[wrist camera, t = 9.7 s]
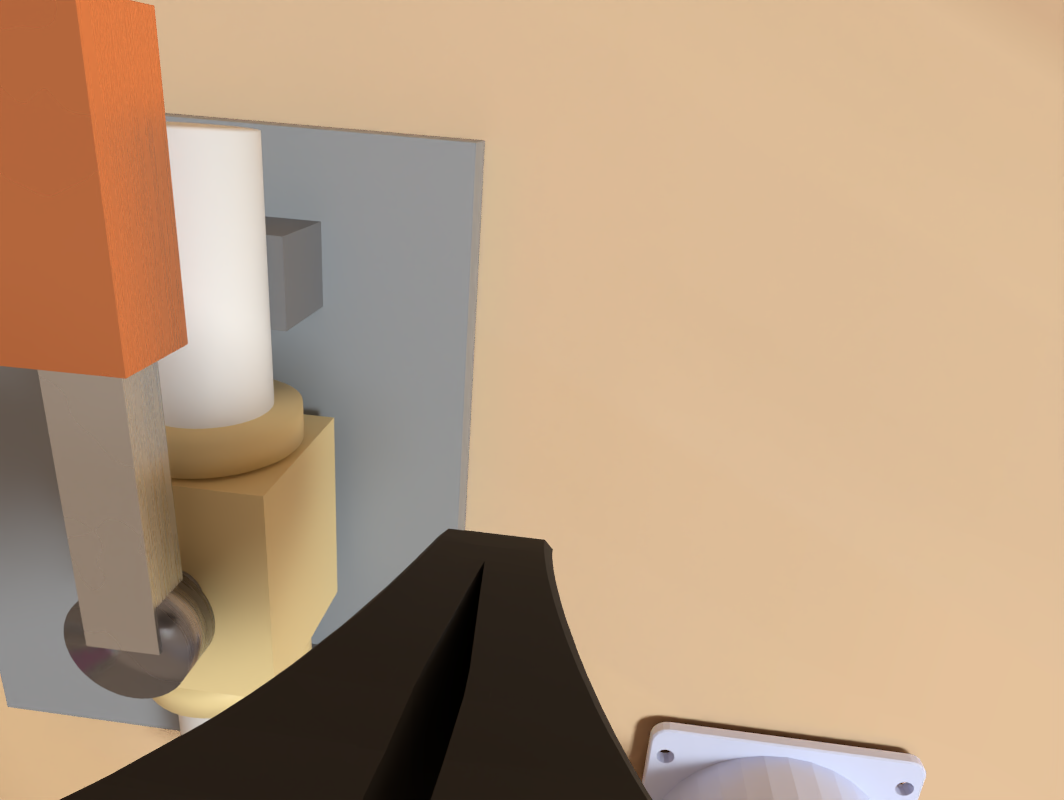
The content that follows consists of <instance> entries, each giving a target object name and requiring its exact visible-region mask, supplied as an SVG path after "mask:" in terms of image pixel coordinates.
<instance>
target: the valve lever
mask: <svg viewBox="0 0 1064 800" xmlns="http://www.w3.org/2000/svg"><path fill="white" fill-rule="evenodd" d="M187 344H188V338H187V328H186V318H185V308H184V298H183V289H182V279H181V269H180V259H179V249H178V239H177V229H176V219H175V209H174V199H173V189H172V179H171V169H170V159H169V149H168V139H167V129H166V119H165V109H164V99H163V89H162V79H161V69H160V59H159V49H158V39H157V29H156V19H155V9H154V6H153V5H149V4H144V3H140V2H135V1H131V0H0V366H6V367H16V368H26V369H36V370H38V375H39V381H40V387H41V392H42V398H43V404H44V409H45V415H46V420H47V426H48V432H49V437H50V443H51V449H52V454H53V460H54V466H55V471H56V477H57V482H58V488H59V494H60V499H61V505H62V511H63V516H64V522H65V528H66V533H67V539H68V544H69V550H70V556H71V561H72V567H73V573H74V578H75V584H76V590H77V595H78V602H76V603H75V604H74V606H73V607H72V608H71V609H70V611H69V612H68V614H67V616H66V619H65V622H64V640H65V644H66V647H67V649H68V652H69V654H70V656H71V658H72V659H73V661H74V662H75V664H76V665H77V666H78V667H79V669H80V670H81V671H82V672H83V673H84V674H85V675H86V676H87V677H88V678H90V679H91V680H92V681H94V682H95V683H96V684H98V685H100V686H101V687H103V688H105V689H107V690H109V691H111V692H113V693H116V694H118V695H122V696H125V697H131V698H139V699H149V698H156V697H160V696H163V695H165V694H168V693H170V692H171V691H173V690H174V689H176V688H177V687H178V686H179V685H180V684H181V682H182V681H183V680H184V678H185V677H186V676H187V674H188V673H189V672H190V670H191V669H192V668H193V666H194V665H195V664H196V662H197V661H198V660H199V658H200V657H201V656H202V654H203V653H204V652H205V650H206V649H207V648H208V646H209V645H210V643H211V641H212V639H213V636H214V633H215V618H214V613H213V610H212V607H211V605H210V603H209V601H208V599H207V597H206V596H205V594H204V593H203V592H202V591H201V589H200V588H199V587H198V586H197V585H196V584H195V583H194V582H193V581H192V580H190V579H189V578H188V577H187V576H185V575H184V574H182V566H181V558H180V549H179V541H178V532H177V523H176V515H175V506H174V498H173V489H172V480H171V472H170V463H169V455H168V446H167V437H166V429H165V420H164V412H163V403H162V394H161V386H160V377H159V369H158V361H159V360H160V359H162V358H164V357H166V356H167V355H169V354H171V353H173V352H175V351H176V350H178V349H180V348H182V347H184V346H185V345H187Z"/></svg>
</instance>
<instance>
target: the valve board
mask: <svg viewBox="0 0 1064 800" xmlns="http://www.w3.org/2000/svg"><path fill="white" fill-rule="evenodd" d="M165 119H166V129H167V139H168V149H169V159H170V169H171V179H172V189H173V199H174V209H175V219H176V229H177V239H178V249H179V259H180V269H181V279H182V289H183V298H184V308H185V318H186V328H187V338H188V344H187V345H185V346H184V347H182V348H180V349H178V350H176V351H175V352H173V353H171V354H169V355H167V356H166V357H164V358H162V359H160V360H159V361H158V369H159V377H160V386H161V394H162V403H163V412H164V420H165V429H166V437H167V446H168V455H169V463H170V472H171V480H172V489H173V498H174V506H175V515H176V523H177V532H178V541H179V549H180V558H181V566H182V574H184V575H185V576H187V577H188V578H189V579H190V580H192V581H193V582H194V583H195V584H196V585H197V586H198V587H199V588H200V589H201V591H202V592H203V593H204V594H205V596H206V597H207V599H208V601H209V603H210V605H211V607H212V610H213V613H214V618H215V633H214V636H213V639H212V641H211V643H210V645H209V646H208V648H207V649H206V650H205V652H204V653H203V654H202V656H201V657H200V658H199V660H198V661H197V662H196V664H195V665H194V666H193V668H192V669H191V670H190V672H189V673H188V674H187V676H186V677H185V678H184V680H183V681H182V682H181V684H180V685H179V686H178V687H177V688H176V689H174V690H173V691H171V692H170V693H168V694H165V695H163V696H160V697H156V698H149V699H139V698H131V697H125V696H122V695H118V694H116V693H113V692H111V691H109V690H107V689H105V688H103V687H101V686H100V685H98V684H96V683H95V682H94V681H92V680H91V679H90V678H88V677H87V676H86V675H85V674H84V673H83V672H82V671H81V670H80V669H79V667H78V666H77V665H76V664H75V662H74V661H73V659H72V658H71V656H70V654H69V652H68V649H67V647H66V644H65V640H64V622H65V619H66V616H67V614H68V612H69V611H70V609H71V608H72V607H73V606H74V604H75V603H76V602H78V595H77V590H76V584H75V578H74V573H73V567H72V561H71V556H70V550H69V544H68V539H67V533H66V528H65V522H64V516H63V511H62V505H61V499H60V494H59V488H58V482H57V477H56V471H55V466H54V460H53V454H52V449H51V443H50V437H49V432H48V426H47V420H46V415H45V409H44V404H43V398H42V392H41V387H40V381H39V375H38V370H36V369H26V368H16V367H6V366H0V674H1V678H2V683H3V687H4V692H5V696H6V701H7V705H8V707H13V708H20V709H28V710H35V711H42V712H49V713H56V714H63V715H71V716H78V717H85V718H92V719H99V720H106V721H114V722H121V723H128V724H135V725H142V726H149V727H157V728H164V729H171V730H178V731H180V733H181V735H183V734H185V733H187V732H188V731H190V730H192V729H194V728H196V727H197V726H199V725H201V724H203V723H204V722H206V721H208V720H209V719H211V718H213V717H214V716H216V715H218V714H219V713H221V712H223V711H224V710H226V709H227V708H229V707H230V706H232V705H233V704H235V703H236V702H238V701H240V700H241V699H243V698H244V697H246V696H247V695H249V694H250V693H252V692H253V691H255V690H256V689H258V688H259V687H261V686H262V685H264V684H265V683H266V682H268V681H269V680H271V679H272V678H274V677H275V676H276V675H278V674H279V673H280V672H282V671H283V670H285V669H286V668H287V667H289V666H290V665H292V664H293V663H294V662H296V661H297V660H298V659H300V658H301V657H302V656H303V655H305V654H306V653H307V652H308V651H310V650H311V649H312V648H314V647H315V646H316V645H317V644H319V643H320V642H321V641H322V640H324V639H325V638H326V637H328V636H329V635H330V634H331V633H333V632H334V631H335V630H336V629H338V628H339V627H340V626H342V625H343V624H344V623H345V622H346V621H348V620H349V619H350V618H351V617H352V616H354V615H355V614H356V613H357V612H358V611H359V610H360V609H362V608H363V607H364V606H365V605H366V604H367V603H368V602H369V601H371V600H372V599H373V598H374V597H375V596H376V595H377V594H379V593H380V592H381V591H382V590H383V589H384V588H385V587H386V586H388V585H389V584H390V583H391V582H392V581H393V580H394V579H395V578H396V577H397V576H398V575H399V574H400V573H401V572H403V571H404V570H405V569H406V568H407V567H408V566H409V565H410V564H411V563H412V562H413V561H414V560H415V559H416V558H417V557H418V556H419V555H420V554H421V553H422V552H423V551H424V550H425V549H426V548H427V547H428V546H429V545H430V544H431V543H432V542H433V541H434V540H435V539H436V538H437V537H438V536H439V535H441V534H442V533H443V532H445V531H446V530H447V529H457V530H465V517H466V498H467V478H468V459H469V439H470V420H471V400H472V381H473V361H474V341H475V322H476V302H477V283H478V263H479V244H480V224H481V205H482V185H483V165H484V146H485V141H484V140H472V139H460V138H449V137H437V136H425V135H414V134H402V133H390V132H379V131H367V130H355V129H344V128H332V127H321V126H309V125H297V124H286V123H274V122H262V121H251V120H239V119H227V118H216V117H204V116H192V115H181V114H169V113H165Z"/></svg>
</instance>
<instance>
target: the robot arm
mask: <svg viewBox="0 0 1064 800" xmlns="http://www.w3.org/2000/svg"><path fill="white" fill-rule="evenodd" d="M552 550H553V549H552V548H551V547H550V546H549V544H548V543H547V542H546V541H545V540H541V539H533V538H525V537H516V536H508V535H499V534H491V533H483V532H474V531H466V530H457V529H447V530H446V531H445V532H443V533H442V534H441V535H439V536H438V537H437V538H436V539H435V540H434V541H433V542H432V543H431V544H430V545H429V546H428V547H427V548H426V549H425V550H424V551H423V552H422V553H421V554H420V555H419V556H418V557H417V558H416V559H415V560H414V561H413V562H412V563H411V564H410V565H409V566H408V567H407V568H406V569H405V570H404V571H403V572H401V573H400V574H399V575H398V576H397V577H396V578H395V579H394V580H393V581H392V582H391V583H390V584H389V585H388V586H386V587H385V588H384V589H383V590H382V591H381V592H380V593H379V594H377V595H376V596H375V597H374V598H373V599H372V600H371V601H369V602H368V603H367V604H366V605H365V606H364V607H363V608H362V609H360V610H359V611H358V612H357V613H356V614H355V615H354V616H352V617H351V618H350V619H349V620H348V621H346V622H345V623H344V624H343V625H342V626H340V627H339V628H338V629H336V630H335V631H334V632H333V633H331V634H330V635H329V636H328V637H326V638H325V639H324V640H322V641H321V642H320V643H319V644H317V645H316V646H315V647H314V648H312V649H311V650H310V651H308V652H307V653H306V654H305V655H303V656H302V657H301V658H300V659H298V660H297V661H296V662H294V663H293V664H292V665H290V666H289V667H287V668H286V669H285V670H283V671H282V672H280V673H279V674H278V675H276V676H275V677H274V678H272V679H271V680H269V681H268V682H266V683H265V684H264V685H262V686H261V687H259V688H258V689H256V690H255V691H253V692H252V693H250V694H249V695H247V696H246V697H244V698H243V699H241V700H240V701H238V702H236V703H235V704H233V705H232V706H230V707H229V708H227V709H226V710H224V711H223V712H221V713H219V714H218V715H216V716H214V717H213V718H211V719H209V720H208V721H206V722H204V723H203V724H201V725H199V726H197V727H196V728H194V729H192V730H190V731H188V732H187V733H185V734H183V735H181V736H179V737H178V738H176V739H174V740H172V741H170V742H169V743H167V744H165V745H163V746H161V747H160V748H158V749H156V750H154V751H152V752H151V753H149V754H147V755H145V756H143V757H141V758H140V759H138V760H136V761H134V762H132V763H131V764H129V765H127V766H125V767H123V768H122V769H120V770H118V771H116V772H114V773H113V774H111V775H109V776H107V777H105V778H103V779H101V780H99V781H97V782H95V783H93V784H91V785H89V786H87V787H85V788H83V789H81V790H79V791H77V792H75V793H73V794H71V795H69V796H66V797H64V798H62V799H60V800H918V798H919V795H920V792H921V789H922V786H923V784H924V781H925V778H926V771H925V769H924V767H923V764H922V762H921V760H920V759H919V758H918V757H916V756H915V755H911V754H907V753H899V752H892V751H884V750H877V749H869V748H862V747H854V746H847V745H839V744H832V743H824V742H817V741H809V740H802V739H794V738H787V737H779V736H772V735H764V734H756V733H749V732H741V731H734V730H726V729H719V728H711V727H704V726H696V725H689V724H681V723H674V722H661V723H659V724H656V725H655V726H654V727H653V728H652V730H651V732H650V738H649V744H648V749H647V755H646V761H645V767H644V773H643V778H642V782H641V780H640V778H639V777H638V775H637V773H636V771H635V770H634V768H633V766H632V764H631V762H630V761H629V759H628V757H627V755H626V754H625V752H624V750H623V748H622V746H621V745H620V743H619V741H618V739H617V737H616V735H615V733H614V731H613V729H612V727H611V725H610V723H609V721H608V719H607V717H606V715H605V713H604V711H603V709H602V707H601V705H600V703H599V700H598V698H597V696H596V694H595V692H594V689H593V687H592V685H591V683H590V681H589V678H588V676H587V674H586V671H585V669H584V666H583V664H582V661H581V659H580V657H579V654H578V651H577V648H576V646H575V643H574V640H573V637H572V635H571V632H570V629H569V626H568V624H567V621H566V618H565V614H564V611H563V608H562V605H561V601H560V597H559V593H558V589H557V586H556V581H555V576H554V570H553V562H552ZM661 750H669V751H670V752H668V753H662V752H660V751H661ZM902 782H906V783H904V784H899V783H902ZM897 784H899V785H897Z"/></svg>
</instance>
